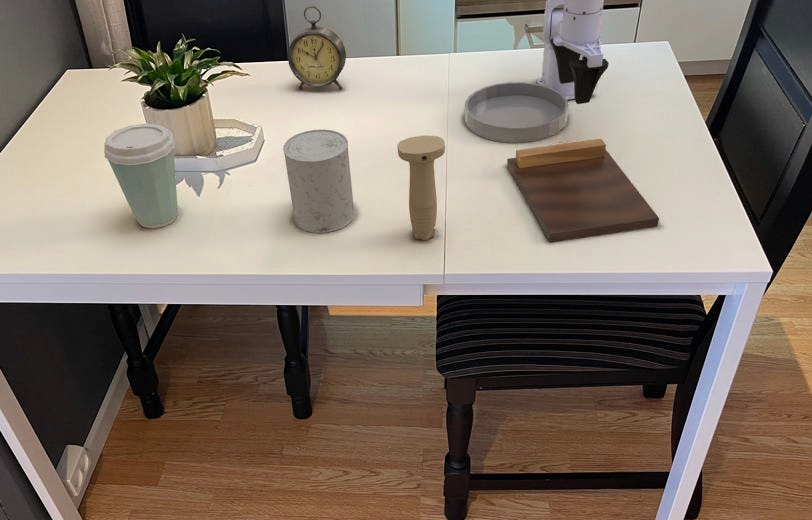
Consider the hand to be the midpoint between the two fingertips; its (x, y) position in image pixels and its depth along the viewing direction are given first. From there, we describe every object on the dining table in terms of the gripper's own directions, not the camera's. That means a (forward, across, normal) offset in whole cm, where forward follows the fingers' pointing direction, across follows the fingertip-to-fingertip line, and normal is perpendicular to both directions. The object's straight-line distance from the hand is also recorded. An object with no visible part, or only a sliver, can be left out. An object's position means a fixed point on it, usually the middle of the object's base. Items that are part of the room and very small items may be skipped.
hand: (574, 92), depth 128 cm
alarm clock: (+10, -35, -39) cm, 54 cm away
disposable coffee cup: (+9, +6, -69) cm, 70 cm away
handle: (+9, +21, -29) cm, 37 cm away
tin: (+9, -11, -6) cm, 16 cm away
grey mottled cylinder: (+9, +12, -43) cm, 46 cm away
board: (+9, +16, -4) cm, 19 cm away
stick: (+8, +7, -4) cm, 11 cm away
